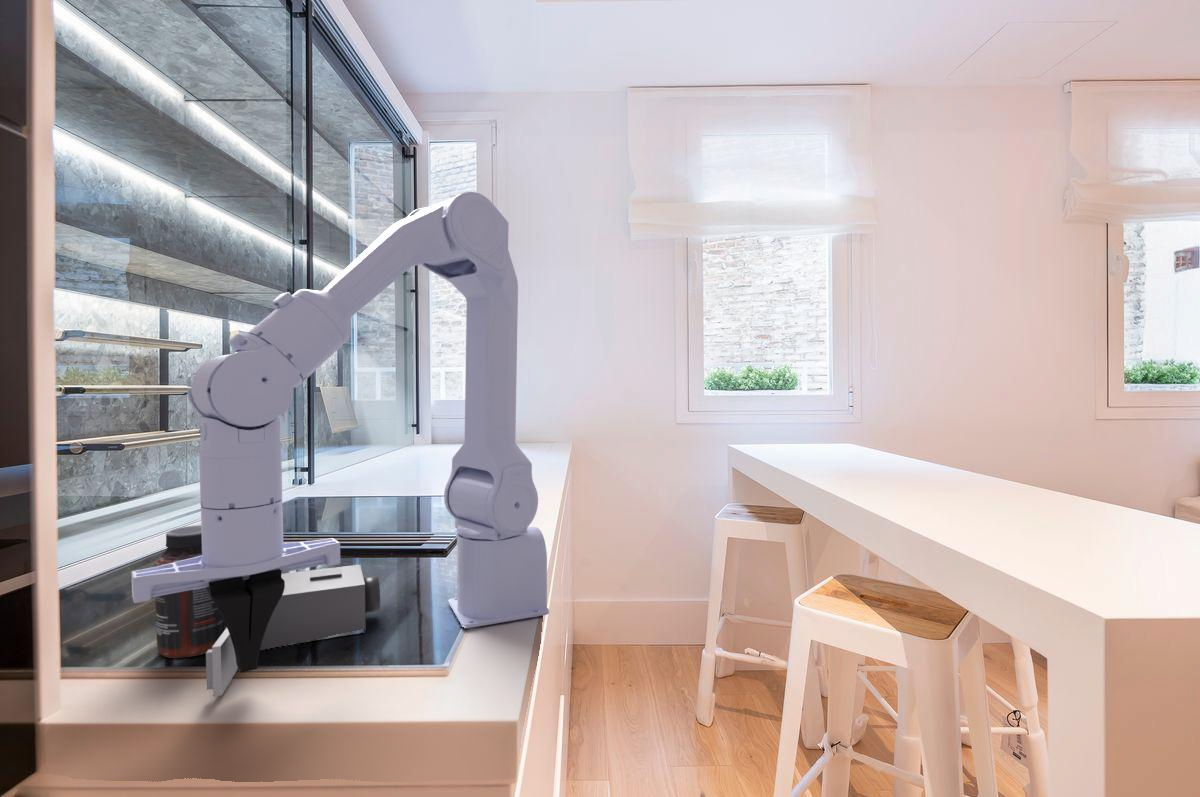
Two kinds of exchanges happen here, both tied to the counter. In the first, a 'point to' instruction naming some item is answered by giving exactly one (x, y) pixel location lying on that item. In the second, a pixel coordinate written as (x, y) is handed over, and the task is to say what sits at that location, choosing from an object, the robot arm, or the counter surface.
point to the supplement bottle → (186, 604)
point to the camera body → (321, 605)
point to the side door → (220, 664)
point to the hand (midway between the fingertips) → (246, 666)
